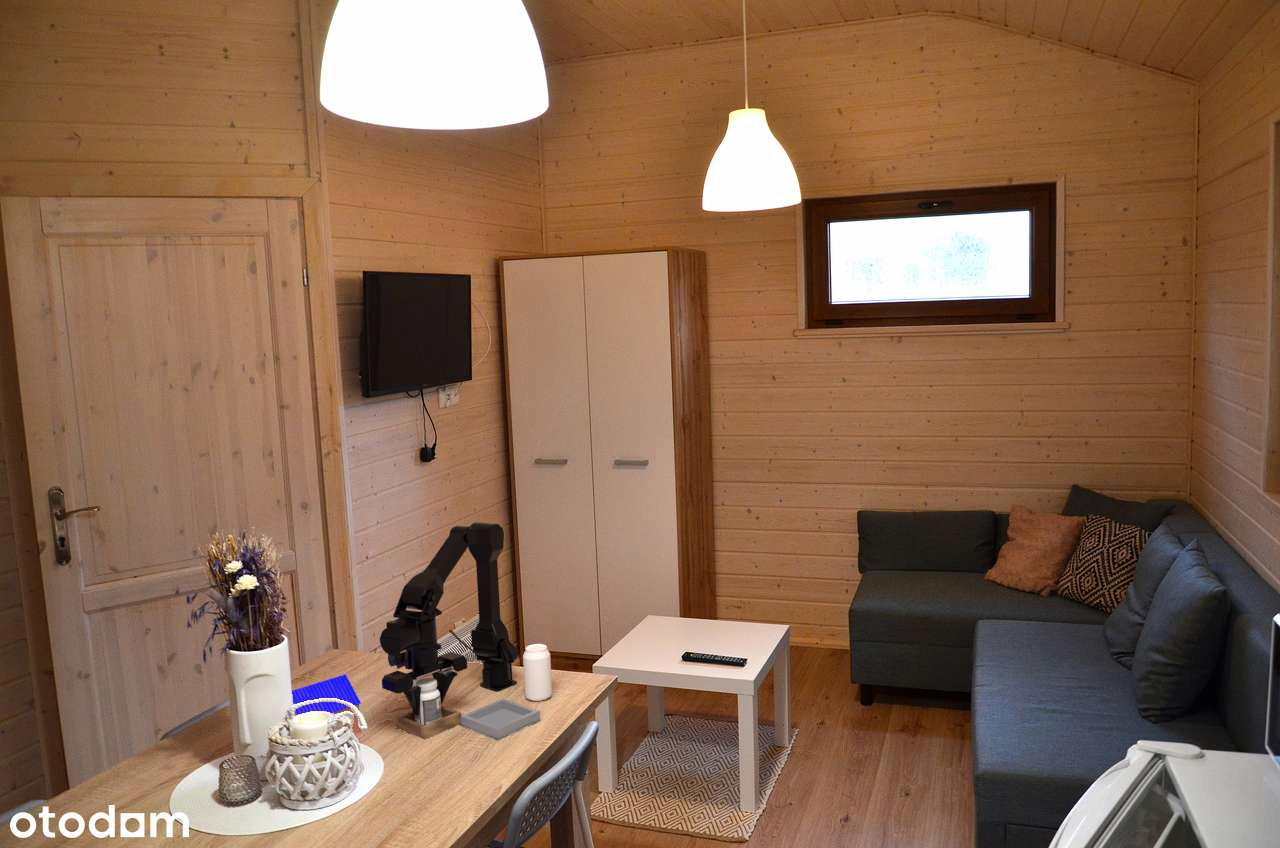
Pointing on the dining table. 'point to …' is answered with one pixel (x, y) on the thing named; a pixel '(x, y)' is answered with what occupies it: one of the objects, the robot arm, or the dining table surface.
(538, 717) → the tray
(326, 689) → the blue ribbed roof
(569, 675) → the dining table surface
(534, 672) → the beverage can
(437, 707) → the pill bottle
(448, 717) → the socket collar
